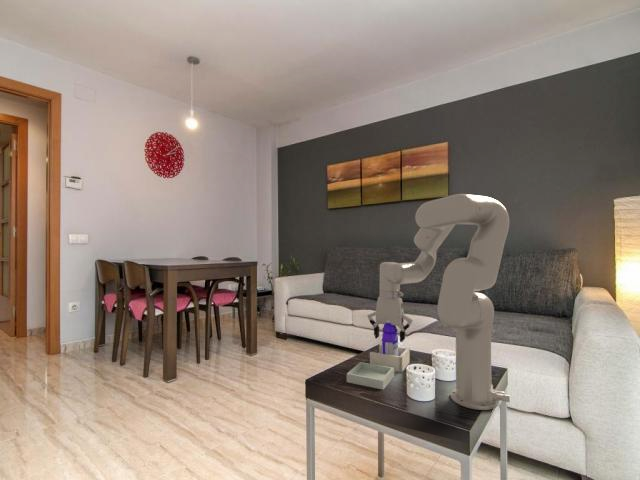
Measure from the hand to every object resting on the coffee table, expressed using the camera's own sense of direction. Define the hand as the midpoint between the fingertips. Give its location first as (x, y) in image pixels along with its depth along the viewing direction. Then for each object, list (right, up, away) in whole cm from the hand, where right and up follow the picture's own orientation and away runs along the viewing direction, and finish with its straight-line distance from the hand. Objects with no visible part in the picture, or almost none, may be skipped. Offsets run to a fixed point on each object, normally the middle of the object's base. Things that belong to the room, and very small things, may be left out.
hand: (389, 339), depth 129 cm
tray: (-9, -10, -14) cm, 19 cm away
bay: (0, -10, -1) cm, 10 cm away
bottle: (0, -10, -1) cm, 10 cm away
